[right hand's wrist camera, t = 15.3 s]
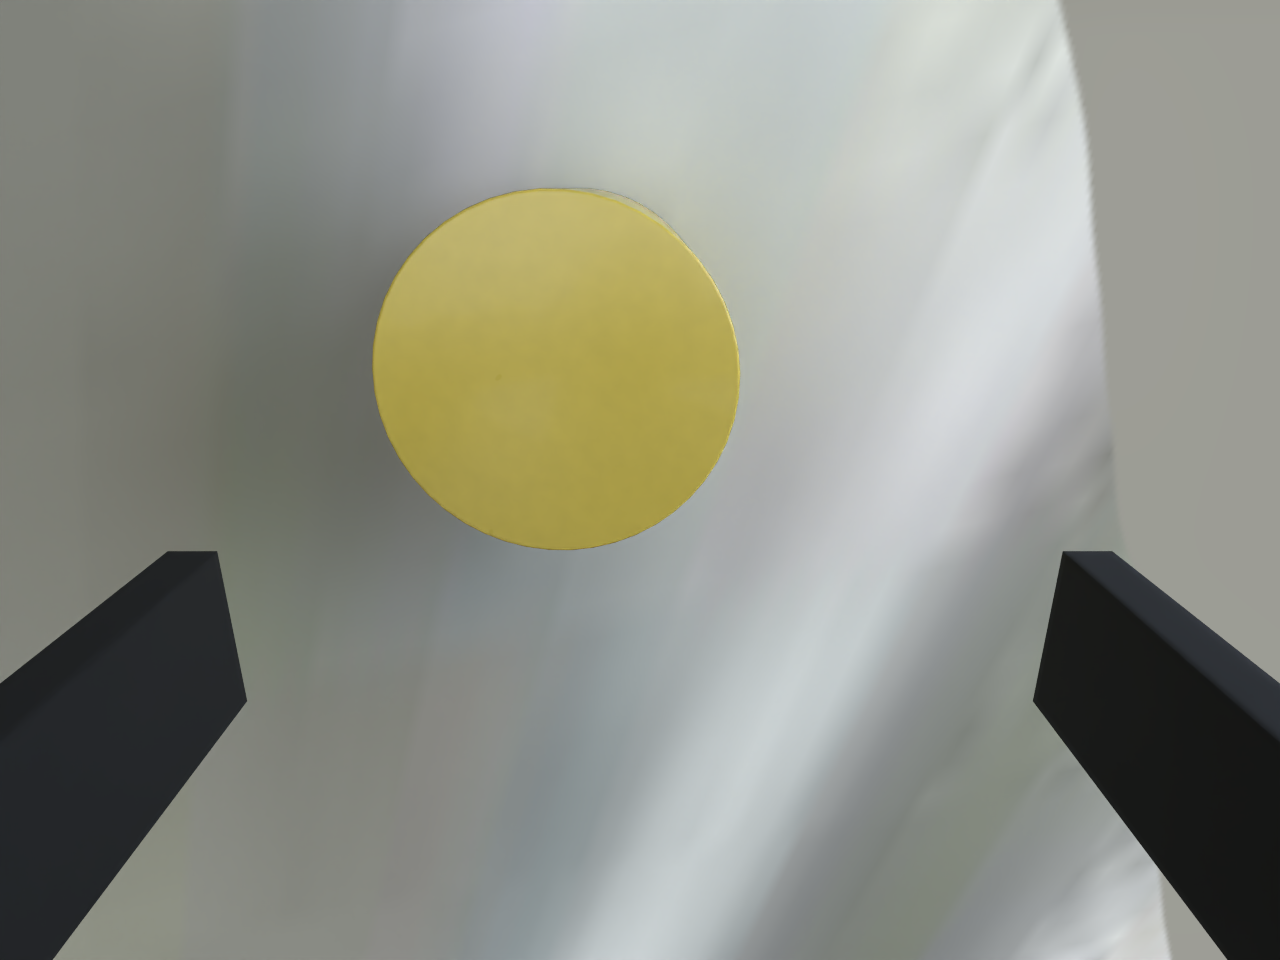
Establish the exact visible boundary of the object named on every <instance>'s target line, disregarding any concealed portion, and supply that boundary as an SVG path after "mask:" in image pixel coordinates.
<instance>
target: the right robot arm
mask: <svg viewBox="0 0 1280 960" xmlns="http://www.w3.org/2000/svg"><path fill="white" fill-rule="evenodd" d="M246 702H247V698H246V693H245V688H244V683H243V678H242V673H241V668H240V663H239V658H238V653H237V648H236V643H235V638H234V633H233V628H232V623H231V618H230V613H229V608H228V603H227V598H226V593H225V588H224V583H223V578H222V573H221V568H220V563H219V558H218V553H217V551H168V552H166V553H165V554H164V555H163V556H161V557H160V558H159V559H157V560H156V561H155V562H154V563H152V564H151V565H150V566H149V567H147V568H146V569H145V570H144V571H142V572H141V573H140V574H138V575H137V576H136V577H135V578H133V579H132V580H131V581H130V582H128V583H127V584H126V585H125V586H123V587H122V588H121V589H119V590H118V591H117V592H116V593H114V594H113V595H112V596H111V597H109V598H108V599H107V600H106V601H104V602H103V603H102V604H100V605H99V606H98V607H97V608H95V609H94V610H93V611H92V612H90V613H89V614H88V615H87V616H85V617H84V618H83V619H81V620H80V621H79V622H78V623H76V624H75V625H74V626H73V627H71V628H70V629H69V630H68V631H66V632H65V633H64V634H62V635H61V636H60V637H59V638H57V639H56V640H55V641H54V642H52V643H51V644H50V645H49V646H47V647H46V648H45V649H43V650H42V651H41V652H40V653H38V654H37V655H36V656H35V657H33V658H32V659H31V660H29V661H28V662H27V663H26V664H24V665H23V666H22V667H21V668H19V669H18V670H17V671H16V672H14V673H13V674H12V675H10V676H9V677H8V678H7V679H5V680H4V681H3V682H2V683H0V960H53V958H54V957H55V956H56V954H57V953H58V952H59V950H60V949H61V948H62V946H63V945H64V944H65V942H66V941H67V940H68V938H69V937H70V936H71V934H72V933H73V932H74V930H75V929H76V928H77V926H78V925H79V924H80V923H81V921H82V920H83V919H84V917H85V916H86V915H87V913H88V912H89V911H90V909H91V908H92V907H93V905H94V904H95V903H96V901H97V900H98V899H99V897H100V896H101V895H102V893H103V892H104V891H105V889H106V888H107V887H108V885H109V884H110V883H111V881H112V880H113V879H114V877H115V876H116V875H117V873H118V872H119V871H120V869H121V868H122V867H123V865H124V864H125V863H126V861H127V860H128V859H129V857H130V856H131V855H132V853H133V852H134V851H135V849H136V848H137V847H138V845H139V844H140V843H141V841H142V840H143V839H144V837H145V836H146V835H147V833H148V832H149V831H150V829H151V828H152V827H153V825H154V824H155V823H156V821H157V820H158V819H159V817H160V816H161V815H162V813H163V812H164V811H165V810H166V808H167V807H168V806H169V804H170V803H171V802H172V800H173V799H174V798H175V796H176V795H177V794H178V792H179V791H180V790H181V788H182V787H183V786H184V784H185V783H186V782H187V780H188V779H189V778H190V776H191V775H192V774H193V772H194V771H195V770H196V768H197V767H198V766H199V764H200V763H201V762H202V760H203V759H204V758H205V756H206V755H207V754H208V752H209V751H210V750H211V748H212V747H213V746H214V744H215V743H216V742H217V740H218V739H219V738H220V736H221V735H222V734H223V732H224V731H225V730H226V728H227V727H228V726H229V724H230V723H231V722H232V720H233V719H234V718H235V716H236V715H237V714H238V712H239V711H240V710H241V708H242V707H243V706H244V704H245V703H246ZM1033 702H1034V703H1035V704H1036V706H1037V707H1038V708H1039V710H1040V711H1041V712H1042V714H1043V715H1044V716H1045V718H1046V719H1047V720H1048V722H1049V723H1050V724H1051V726H1052V727H1053V728H1054V730H1055V731H1056V732H1057V734H1058V735H1059V736H1060V738H1061V739H1062V740H1063V742H1064V743H1065V744H1066V746H1067V747H1068V748H1069V750H1070V751H1071V752H1072V754H1073V755H1074V756H1075V758H1076V759H1077V760H1078V762H1079V763H1080V764H1081V766H1082V767H1083V768H1084V770H1085V771H1086V772H1087V774H1088V775H1089V776H1090V778H1091V779H1092V780H1093V782H1094V783H1095V784H1096V786H1097V787H1098V788H1099V790H1100V791H1101V792H1102V794H1103V795H1104V796H1105V798H1106V799H1107V800H1108V802H1109V803H1110V804H1111V806H1112V807H1113V808H1114V810H1115V811H1116V812H1117V813H1118V815H1119V816H1120V817H1121V819H1122V820H1123V821H1124V823H1125V824H1126V825H1127V827H1128V828H1129V829H1130V831H1131V832H1132V833H1133V835H1134V836H1135V837H1136V839H1137V840H1138V841H1139V843H1140V844H1141V845H1142V847H1143V848H1144V849H1145V851H1146V852H1147V853H1148V855H1149V856H1150V857H1151V859H1152V860H1153V861H1154V863H1155V864H1156V865H1157V867H1158V868H1159V869H1160V871H1161V872H1162V873H1163V875H1164V876H1165V877H1166V879H1167V880H1168V881H1169V883H1170V884H1171V885H1172V887H1173V888H1174V889H1175V891H1176V892H1177V893H1178V895H1179V896H1180V897H1181V899H1182V900H1183V901H1184V903H1185V904H1186V905H1187V906H1188V908H1189V909H1190V911H1191V912H1192V913H1193V915H1194V916H1195V917H1196V918H1197V920H1198V921H1199V923H1200V924H1201V925H1202V926H1203V928H1204V929H1205V930H1206V932H1207V933H1208V934H1209V936H1210V937H1211V938H1212V940H1213V941H1214V942H1215V944H1216V945H1217V946H1218V948H1219V949H1220V950H1221V952H1222V953H1223V954H1224V956H1225V957H1226V958H1227V960H1280V683H1278V682H1277V681H1276V680H1275V679H1273V678H1272V677H1271V676H1269V675H1268V674H1267V673H1266V672H1264V671H1263V670H1262V669H1260V668H1259V667H1258V666H1257V665H1256V664H1254V663H1253V662H1252V661H1250V660H1249V659H1248V658H1247V657H1245V656H1244V655H1243V654H1242V653H1240V652H1239V651H1238V650H1237V649H1235V648H1234V647H1233V646H1231V645H1230V644H1229V643H1228V642H1226V641H1225V640H1224V639H1223V638H1221V637H1220V636H1219V635H1218V634H1216V633H1215V632H1214V631H1212V630H1211V629H1210V628H1209V627H1207V626H1206V625H1205V624H1203V623H1202V622H1201V621H1200V620H1199V619H1197V618H1196V617H1195V616H1193V615H1192V614H1191V613H1190V612H1188V611H1187V610H1186V609H1185V608H1183V607H1182V606H1181V605H1180V604H1178V603H1177V602H1176V601H1174V600H1173V599H1172V598H1171V597H1169V596H1168V595H1167V594H1166V593H1164V592H1163V591H1162V590H1160V589H1159V588H1158V587H1157V586H1155V585H1154V584H1153V583H1152V582H1150V581H1149V580H1148V579H1147V578H1145V577H1144V576H1143V575H1142V574H1140V573H1139V572H1138V571H1136V570H1135V569H1134V568H1133V567H1131V566H1130V565H1129V564H1128V563H1126V562H1125V561H1124V560H1123V559H1121V558H1120V557H1119V556H1117V555H1116V554H1115V553H1114V552H1112V551H1063V553H1062V558H1061V563H1060V568H1059V573H1058V578H1057V583H1056V588H1055V593H1054V598H1053V603H1052V608H1051V613H1050V618H1049V623H1048V628H1047V633H1046V638H1045V643H1044V648H1043V653H1042V658H1041V663H1040V668H1039V673H1038V678H1037V683H1036V688H1035V693H1034V698H1033Z"/></svg>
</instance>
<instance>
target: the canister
mask: <svg viewBox="0 0 1280 960" xmlns="http://www.w3.org/2000/svg"><path fill="white" fill-rule="evenodd" d="M372 372H373V382H374V392H375V396H376V401H377V405H378V409H379V414H380V417H381V420H382V422H383V425H384V428H385V430H386V433H387V436H388V438H389V440H390V442H391V444H392V446H393V447H394V449H395V451H396V453H397V455H398V457H399V459H400V460H401V462H402V463H403V464H404V466H405V467H406V469H407V470H408V472H409V473H410V475H411V476H412V477H413V479H414V480H415V481H416V482H417V483H418V484H419V485H420V486H421V487H422V489H423V490H424V491H425V492H426V493H427V494H428V495H429V496H430V497H431V498H432V499H433V500H435V501H436V502H437V503H438V504H439V505H440V506H441V507H443V508H444V509H445V510H446V511H448V512H449V513H451V514H452V515H453V516H455V517H456V518H458V519H459V520H461V521H462V522H464V523H466V524H467V525H469V526H471V527H473V528H475V529H477V530H479V531H481V532H483V533H485V534H487V535H490V536H493V537H495V538H498V539H500V540H503V541H506V542H510V543H514V544H518V545H522V546H526V547H532V548H540V549H547V550H575V549H585V548H594V547H598V546H602V545H606V544H611V543H615V542H618V541H620V540H623V539H626V538H629V537H631V536H634V535H636V534H638V533H640V532H642V531H644V530H646V529H648V528H650V527H652V526H654V525H656V524H657V523H659V522H660V521H662V520H663V519H665V518H666V517H667V516H669V515H670V514H672V513H673V512H675V511H676V510H677V509H678V508H679V507H680V506H681V505H682V504H683V503H685V502H686V501H687V500H688V499H689V498H690V497H691V496H692V495H693V494H694V493H695V491H696V490H697V489H698V488H699V487H700V486H701V485H702V483H703V482H704V481H705V480H706V478H707V477H708V475H709V474H710V472H711V471H712V469H713V468H714V466H715V465H716V463H717V461H718V459H719V457H720V455H721V453H722V451H723V449H724V447H725V445H726V443H727V441H728V438H729V435H730V432H731V429H732V426H733V423H734V420H735V414H736V409H737V404H738V399H739V385H740V365H739V352H738V346H737V341H736V336H735V332H734V327H733V324H732V321H731V318H730V315H729V313H728V310H727V307H726V304H725V302H724V300H723V298H722V296H721V294H720V292H719V290H718V288H717V286H716V284H715V283H714V281H713V279H712V278H711V276H710V275H709V273H708V272H707V271H706V269H705V268H704V266H703V265H702V263H701V262H700V261H699V259H698V258H697V257H696V256H695V255H694V253H693V252H692V251H691V250H690V249H689V248H688V246H687V245H686V244H685V243H684V242H683V241H682V239H681V238H680V237H679V236H678V235H677V234H676V233H675V232H674V231H673V229H672V228H671V227H670V226H669V225H668V224H667V223H666V222H665V221H663V220H662V219H661V218H660V217H659V216H657V215H656V214H655V213H654V212H652V211H650V210H649V209H647V208H646V207H644V206H642V205H641V204H639V203H637V202H635V201H633V200H630V199H628V198H626V197H624V196H621V195H617V194H614V193H611V192H607V191H602V190H595V189H586V188H539V189H531V190H523V191H515V192H511V193H507V194H503V195H500V196H496V197H492V198H489V199H487V200H484V201H482V202H480V203H477V204H475V205H473V206H470V207H468V208H466V209H464V210H463V211H461V212H459V213H458V214H456V215H454V216H453V217H451V218H449V219H448V220H446V221H445V222H443V223H442V224H441V225H440V226H439V227H437V228H436V229H435V230H434V231H433V232H431V233H430V234H429V235H428V236H427V237H425V238H424V239H423V241H422V242H421V243H420V244H419V245H418V246H417V247H416V248H415V249H414V251H413V252H412V253H411V254H410V255H409V256H408V258H407V259H406V261H405V262H404V264H403V265H402V267H401V268H400V270H399V271H398V273H397V274H396V276H395V277H394V279H393V282H392V284H391V286H390V288H389V290H388V292H387V294H386V296H385V298H384V301H383V304H382V307H381V311H380V314H379V317H378V320H377V325H376V331H375V336H374V342H373V360H372Z"/></svg>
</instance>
